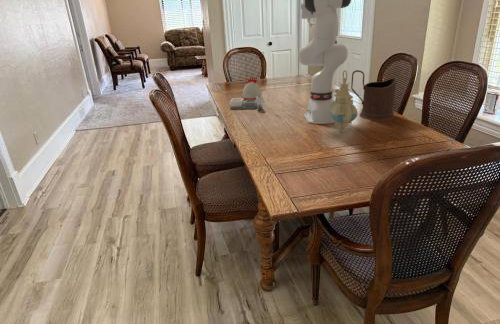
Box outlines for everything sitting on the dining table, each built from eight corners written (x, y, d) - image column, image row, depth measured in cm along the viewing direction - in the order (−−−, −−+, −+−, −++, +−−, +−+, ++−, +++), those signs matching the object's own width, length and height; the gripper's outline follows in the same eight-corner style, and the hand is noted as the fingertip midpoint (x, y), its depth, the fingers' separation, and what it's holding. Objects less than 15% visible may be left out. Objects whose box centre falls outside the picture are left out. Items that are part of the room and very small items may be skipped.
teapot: (323, 125, 180) (326, 67, 167) (345, 124, 180) (349, 65, 168) (336, 141, 158) (339, 75, 145) (360, 140, 158) (366, 74, 146)
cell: (262, 110, 213) (261, 96, 210) (256, 110, 214) (255, 96, 210) (263, 108, 217) (262, 94, 213) (256, 108, 218) (256, 94, 214)
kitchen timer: (261, 100, 236) (261, 78, 230) (242, 101, 237) (240, 79, 231) (261, 95, 249) (261, 74, 243) (242, 96, 250) (241, 75, 244)
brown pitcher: (397, 121, 181) (403, 72, 171) (350, 120, 186) (353, 73, 176) (391, 111, 198) (396, 66, 188) (348, 111, 203) (351, 67, 192)
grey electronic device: (254, 109, 216) (254, 101, 214) (230, 109, 218) (229, 102, 217) (257, 104, 227) (257, 97, 225) (233, 104, 229) (233, 97, 227)
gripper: (301, 1, 197) (301, 27, 203) (337, -1, 195) (336, 25, 201) (300, 2, 203) (300, 27, 209) (336, 0, 201) (334, 25, 206)
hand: (318, 26), depth 205 cm, fingers open, 8 cm apart
